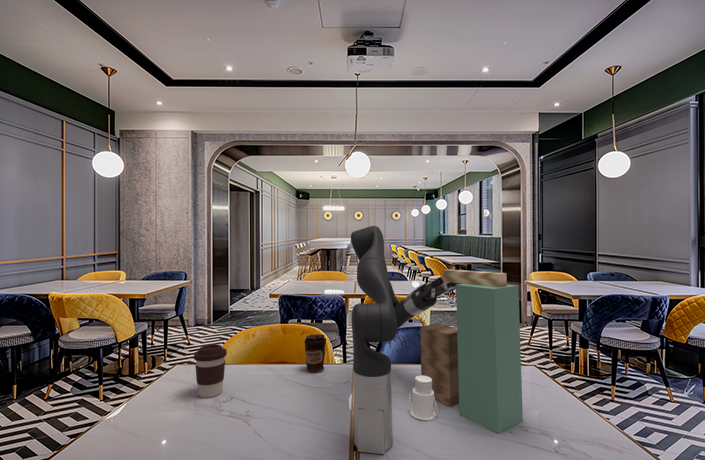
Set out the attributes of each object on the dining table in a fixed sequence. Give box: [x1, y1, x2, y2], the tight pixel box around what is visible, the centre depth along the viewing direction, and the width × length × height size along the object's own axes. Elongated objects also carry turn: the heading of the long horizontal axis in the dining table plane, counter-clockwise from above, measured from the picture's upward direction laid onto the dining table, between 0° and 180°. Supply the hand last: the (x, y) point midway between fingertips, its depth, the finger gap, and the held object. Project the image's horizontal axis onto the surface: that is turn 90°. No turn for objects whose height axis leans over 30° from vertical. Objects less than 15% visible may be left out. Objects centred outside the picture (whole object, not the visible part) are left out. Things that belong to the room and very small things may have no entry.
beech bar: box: [442, 269, 508, 287], centre depth 100 cm, size 19×4×4 cm, turn 34°
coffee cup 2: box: [304, 333, 327, 374], centre depth 133 cm, size 9×8×13 cm
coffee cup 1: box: [193, 343, 228, 399], centre depth 113 cm, size 10×10×15 cm
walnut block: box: [419, 322, 459, 408], centre depth 109 cm, size 12×8×21 cm
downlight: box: [408, 375, 439, 421], centre depth 97 cm, size 8×7×10 cm
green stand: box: [455, 283, 524, 434], centre depth 96 cm, size 12×11×36 cm
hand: (451, 279), depth 107 cm, fingers open, 8 cm apart
